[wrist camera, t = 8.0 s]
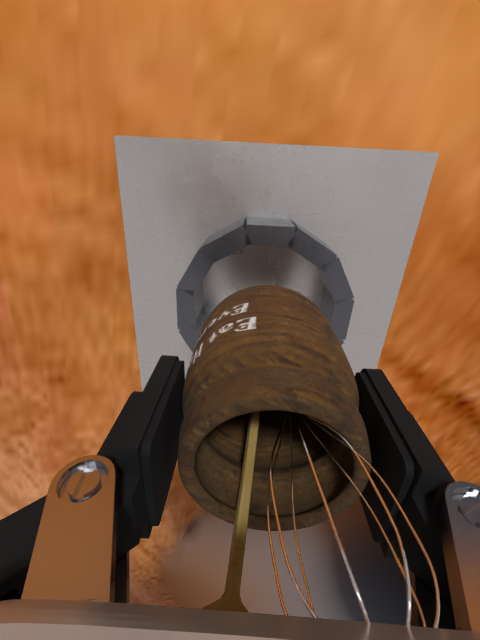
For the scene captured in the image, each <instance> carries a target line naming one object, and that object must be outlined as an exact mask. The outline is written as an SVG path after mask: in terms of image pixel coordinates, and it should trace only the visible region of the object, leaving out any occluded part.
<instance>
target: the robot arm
mask: <svg viewBox="0 0 480 640" xmlns="http://www.w3.org/2000/svg"><path fill="white" fill-rule="evenodd" d="M355 380H356V383H357V387H358V393H359V412H360V414H361V416H362V419H363V421H364V424H365V427H366V430H367V435H368V440H369V446H370V452H371V466H372V467H373V468H374V469H375V470H376V471H377V473H378V474H379V475H380V476H381V478H382V479H383V480H384V482H385V483H386V484H387V486H388V487H389V489H390V490H391V492H392V493H393V495H394V496H395V498H396V499H397V501H398V503H399V504H400V506H401V508H402V509H403V511H404V513H405V514H406V516H407V518H408V520H409V521H410V523H411V525H412V527H413V528H414V530H415V532H416V534H417V535H418V537H419V539H420V541H421V542H422V544H423V546H424V548H425V550H426V552H427V554H428V556H429V558H430V560H431V563H432V565H433V568H434V571H435V574H436V578H437V582H438V588H439V595H440V618H439V625H438V628H433V625H434V621H435V614H436V594H435V586H434V580H433V576H432V573H431V569H430V567H429V564H428V561H427V559H426V557H425V555H424V553H423V551H422V549H421V547H420V545H419V543H418V541H417V540H416V538H415V536H414V534H413V532H412V531H411V529H410V527H409V525H408V523H407V522H406V520H405V518H404V516H403V515H402V513H401V511H400V509H399V508H398V506H397V504H396V503H395V501H394V499H393V498H392V496H391V495H390V493H389V492H388V490H387V488H386V487H385V486H384V484H383V483H382V482H381V480H380V479H379V477H378V476H377V475H376V474H375V473H374V471H373V470H372V469H371V472H370V476H371V478H372V480H373V482H374V484H375V486H376V487H377V489H378V491H379V493H380V495H381V497H382V499H383V501H384V502H385V504H386V506H387V508H388V510H389V512H390V514H391V516H392V518H393V521H394V523H395V525H396V527H397V529H398V532H399V535H400V537H401V540H402V544H403V547H404V551H405V555H406V559H407V564H408V570H409V576H410V584H411V586H412V588H413V590H414V592H415V595H416V597H417V599H418V601H419V604H420V606H421V609H422V612H423V615H424V618H425V621H426V626H427V627H423V623H422V619H421V616H420V613H419V610H418V607H417V604H416V602H415V600H414V597H413V595H412V593H411V600H412V603H411V622H410V624H411V626H410V628H409V627H406V626H405V625H393V624H382V623H371V625H368V624H367V623H366V622H358V621H345V620H334V619H322V618H309V617H297V616H284V615H271V614H259V613H247V612H235V611H221V610H208V609H195V608H181V607H168V606H155V605H141V604H129V551H130V550H131V549H132V548H134V547H135V546H136V545H138V544H139V541H140V538H147V539H149V537H150V533H151V530H152V526H158V525H159V524H160V521H161V517H162V513H163V510H164V506H165V502H166V499H167V495H168V491H169V488H170V484H171V480H172V477H173V473H174V469H175V465H176V462H177V458H178V445H179V434H180V429H181V425H182V422H183V419H184V415H183V408H182V399H183V388H184V382H185V366H184V361H181V360H179V357H178V356H169V355H162V356H161V357H160V359H159V361H158V363H157V365H156V367H155V369H154V371H153V373H152V374H151V376H150V378H149V380H148V382H147V384H146V386H145V388H144V390H143V392H135V391H134V392H133V393H132V394H131V395H130V397H129V398H128V400H127V402H126V404H125V405H124V407H123V409H122V411H121V413H120V414H119V416H118V418H117V420H116V422H115V423H114V425H113V427H112V429H111V430H110V432H109V434H108V436H107V438H106V439H105V441H104V443H103V445H102V447H101V448H100V450H99V452H98V454H97V455H90V456H84V457H81V458H78V459H76V460H74V461H72V462H70V463H68V464H67V465H66V466H64V467H63V468H62V469H61V470H59V472H58V473H57V474H56V475H55V477H54V478H53V479H52V482H51V484H50V486H49V489H48V493H47V495H46V496H44V497H42V498H40V499H39V500H37V501H35V502H33V503H31V504H29V505H28V506H26V507H24V508H22V509H20V510H18V511H17V512H15V513H13V514H11V515H9V516H7V517H6V518H4V519H2V520H0V640H480V487H479V486H477V485H475V484H472V483H467V482H455V480H454V479H453V477H452V476H451V474H450V473H449V471H448V469H447V468H446V466H445V465H444V463H443V462H442V460H441V459H440V457H439V456H438V454H437V453H436V451H435V449H434V448H433V446H432V445H431V443H430V442H429V440H428V439H427V437H426V436H425V434H424V432H423V431H422V429H421V428H420V426H419V425H418V423H417V422H416V420H415V419H414V417H413V415H412V414H411V413H410V412H409V411H408V410H407V409H406V407H405V406H404V404H403V403H402V401H401V399H400V398H399V396H398V395H397V393H396V392H395V390H394V388H393V387H392V385H391V384H390V382H389V381H388V379H387V378H386V376H385V374H384V373H383V371H382V370H380V369H366V368H363V369H362V370H361V372H357V373H356V375H355ZM361 494H362V495H363V496H364V498H365V499H366V501H367V502H368V504H369V506H370V507H371V509H372V510H373V512H374V514H375V515H376V517H377V519H378V521H379V522H380V524H381V526H382V528H383V530H384V532H385V534H386V535H387V537H388V539H389V541H390V543H391V545H392V547H393V549H394V551H395V553H396V555H397V557H398V558H400V559H401V562H402V564H403V565H404V563H403V558H402V554H401V550H400V546H399V543H398V539H397V536H396V534H395V531H394V528H393V526H392V524H391V522H390V520H389V517H388V515H387V513H386V511H385V509H384V507H383V505H382V503H381V501H380V499H379V497H378V496H377V494H376V492H375V490H374V488H373V486H372V484H371V482H370V480H368V482H367V485H366V487H365V488H364V490H363V492H362V493H361ZM359 497H360V500H361V503H362V506H363V509H364V513H365V516H366V519H367V522H368V525H369V528H370V531H371V534H372V537H373V539H374V541H375V542H376V543H380V545H381V548H382V551H383V554H384V557H394V555H393V553H392V551H391V549H390V547H389V545H388V543H387V541H386V539H385V537H384V535H383V533H382V531H381V529H380V527H379V525H378V524H377V522H376V520H375V518H374V517H373V515H372V513H371V511H370V510H369V508H368V507H367V505H366V503H365V502H364V500H363V499H362V497H361V496H359ZM394 558H395V557H394Z"/></svg>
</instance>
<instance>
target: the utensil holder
mask: <svg viewBox="0 0 480 640" xmlns="http://www.w3.org/2000/svg"><path fill="white" fill-rule="evenodd" d="M182 408H183V415H184V419H183V422H182V425H181V429H180V434H179V445H178V468H179V473H180V477H181V480H182V482H183V484H184V486H185V488H186V490H187V491H188V493H189V494H190V496H191V497H192V498H193V499H194V500H195V501H196V502H197V503H198V504H199V505H200V506H201V507H202V508H204V509H205V510H206V511H208V512H209V513H211V514H213V515H214V516H216V517H218V518H220V519H222V520H224V521H227V522H229V523H232V524H234V530H233V538H232V544H231V551H230V558H229V566H228V572H227V579H226V586H225V592H224V594H223V595H222V597H221V599H219V600H217V601H216V602H213V603H212V604H209V605H208V606H206V607H204V608H202V609H208V610H221V611H235V612H247V613H249V612H248V611H247V610H246V608H245V607H244V605H243V604H242V603H241V598H240V585H241V576H242V567H243V558H244V550H245V540H246V532H247V528H251V529H256V530H266V531H268V534H269V542H270V548H271V554H272V561H273V566H274V572H275V578H276V584H277V589H278V593H279V598H280V602H281V606H282V609H283V612H284V615H285V616H288V614H287V611H286V608H285V606H284V602H283V598H282V594H281V589H280V585H279V579H278V574H277V568H276V562H275V557H274V551H273V545H272V538H271V531H278V532H279V536H280V541H281V545H282V550H283V554H284V558H285V562H286V565H287V568H288V571H289V573H290V576H291V578H292V581H293V583H294V585H295V587H296V589H297V591H298V593H299V595H300V597H301V599H302V600H303V602H304V604H305V606H306V608H307V609H308V611H309V612H310V613H311V615H312V617H313V618H318V617H317V616H316V614H315V613H314V608H313V604H312V600H311V596H310V592H309V588H308V584H307V580H306V576H305V572H304V568H303V563H302V558H301V554H300V548H299V543H298V538H297V530H296V529H301V528H305V527H310V526H313V525H316V524H319V523H322V522H325V521H327V520H330V522H331V525H332V528H333V531H334V534H335V536H336V539H337V542H338V545H339V548H340V551H341V553H342V556H343V559H344V562H345V565H346V568H347V570H348V573H349V576H350V579H351V581H352V584H353V587H354V590H355V593H356V596H357V598H358V601H359V604H360V606H361V609H362V612H363V615H364V618H365V620H366V623H367V624H368V625H371V621H370V619H369V616H368V613H367V611H366V608H365V605H364V602H363V599H362V597H361V594H360V591H359V589H358V586H357V583H356V580H355V577H354V575H353V572H352V569H351V567H350V564H349V561H348V558H347V555H346V553H345V550H344V547H343V544H342V542H341V539H340V536H339V534H338V531H337V528H336V525H335V522H334V520H333V517H335V516H337V515H338V514H340V513H341V512H343V511H344V510H346V509H347V508H348V507H349V506H351V505H352V504H353V503H354V502H355V501H356V500H357V498H358V497H359V496H361V497H362V499H363V500H364V502H365V503H366V505H367V507H368V508H369V510H370V511H371V513H372V515H373V517H374V518H375V520H376V522H377V524H378V525H379V527H380V529H381V531H382V533H383V535H384V537H385V539H386V541H387V543H388V545H389V547H390V549H391V551H392V553H393V555H394V557H395V559H396V561H397V563H398V565H399V567H400V569H401V571H402V573H403V575H404V578H405V580H406V585H407V617H406V627H409V628H410V622H411V603H412V600H411V593H412V595H413V597H414V600H415V602H416V604H417V607H418V610H419V613H420V616H421V619H422V623H423V627H427V626H426V621H425V618H424V615H423V612H422V609H421V606H420V604H419V601H418V599H417V597H416V595H415V592H414V590H413V588H412V586H411V584H410V576H409V570H408V564H407V559H406V555H405V551H404V547H403V544H402V540H401V537H400V535H399V532H398V529H397V527H396V525H395V523H394V521H393V518H392V516H391V514H390V512H389V510H388V508H387V506H386V504H385V502H384V501H383V499H382V497H381V495H380V493H379V491H378V489H377V487H376V486H375V484H374V482H373V480H372V478H371V476H370V472H371V469H372V470H373V471H374V473H375V474H376V475H377V476H378V477H379V479H380V480H381V482H382V483H383V484H384V486H385V487H386V488H387V490H388V492H389V493H390V495H391V496H392V498H393V499H394V501H395V503H396V504H397V506H398V508H399V509H400V511H401V513H402V515H403V516H404V518H405V520H406V522H407V523H408V525H409V527H410V529H411V531H412V532H413V534H414V536H415V538H416V540H417V541H418V543H419V545H420V547H421V549H422V551H423V553H424V555H425V557H426V559H427V561H428V564H429V567H430V569H431V573H432V576H433V580H434V586H435V594H436V614H435V621H434V625H433V628H438V625H439V618H440V595H439V588H438V582H437V578H436V574H435V571H434V568H433V565H432V563H431V560H430V558H429V556H428V554H427V552H426V550H425V548H424V546H423V544H422V542H421V541H420V539H419V537H418V535H417V534H416V532H415V530H414V528H413V527H412V525H411V523H410V521H409V520H408V518H407V516H406V514H405V513H404V511H403V509H402V508H401V506H400V504H399V503H398V501H397V499H396V498H395V496H394V495H393V493H392V492H391V490H390V489H389V487H388V486H387V484H386V483H385V482H384V480H383V479H382V478H381V476H380V475H379V474H378V473H377V471H376V470H375V469H374V468H373V467H372V466H371V452H370V446H369V440H368V435H367V430H366V427H365V424H364V421H363V419H362V416H361V414H360V412H359V393H358V387H357V383H356V380H355V376H354V373H353V371H352V368H351V366H350V363H349V361H348V359H347V357H346V354H345V352H344V350H343V348H342V346H341V344H340V342H339V340H338V338H337V336H336V334H335V332H334V330H333V329H332V327H331V325H330V323H329V321H328V320H327V318H326V317H325V315H324V314H323V312H322V311H321V310H320V309H319V308H318V307H317V306H316V305H315V304H314V303H313V302H312V301H311V300H310V299H308V298H307V297H306V296H304V295H302V294H301V293H299V292H297V291H294V290H292V289H289V288H286V287H282V286H276V285H258V286H252V287H248V288H245V289H242V290H239V291H237V292H235V293H233V294H231V295H230V296H228V297H227V298H225V299H224V300H223V301H221V302H220V303H219V304H218V305H217V306H216V307H215V308H214V310H213V311H212V312H211V314H210V315H209V316H208V318H207V320H206V321H205V323H204V326H203V328H202V330H201V332H200V335H199V338H198V340H197V343H196V346H195V349H194V352H193V355H192V358H191V361H190V364H189V367H188V370H187V374H186V378H185V382H184V388H183V399H182ZM368 480H370V482H371V484H372V486H373V488H374V490H375V492H376V494H377V496H378V497H379V499H380V501H381V503H382V505H383V507H384V509H385V511H386V513H387V515H388V517H389V520H390V522H391V524H392V526H393V528H394V531H395V534H396V536H397V539H398V543H399V546H400V550H401V554H402V558H403V563H404V569H405V571H404V569H403V567H402V566H401V563H400V561H399V559H398V557H397V555H396V553H395V551H394V549H393V547H392V545H391V543H390V541H389V539H388V537H387V535H386V534H385V532H384V530H383V528H382V526H381V524H380V522H379V521H378V519H377V517H376V515H375V514H374V512H373V510H372V509H371V507H370V506H369V504H368V502H367V501H366V499H365V498H364V496H363V495H362V494H361V493H362V492H363V490H364V488H365V487H366V485H367V482H368ZM286 530H294V532H295V539H296V544H297V550H298V555H299V560H300V565H301V569H302V574H303V578H304V582H305V587H306V591H307V595H308V599H309V603H310V605H309V604H308V602H307V600H306V598H305V597H304V595H303V593H302V592H301V589H300V587H299V586H298V584H297V581H296V579H295V577H294V575H293V572H292V570H291V567H290V564H289V561H288V557H287V554H286V550H285V546H284V541H283V537H282V532H281V531H286Z"/></svg>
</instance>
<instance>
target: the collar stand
mask: <svg viewBox="0 0 480 640" xmlns="http://www.w3.org/2000/svg"><path fill="white" fill-rule="evenodd" d="M114 142H115V151H116V160H117V169H118V178H119V187H120V196H121V205H122V214H123V223H124V232H125V241H126V250H127V259H128V268H129V277H130V286H131V295H132V304H133V313H134V322H135V332H136V341H137V350H138V359H139V368H140V377H141V386H142V392H143V390H144V388H145V386H146V384H147V382H148V380H149V378H150V376H151V374H152V373H153V371H154V369H155V367H156V365H157V363H158V361H159V359H160V357H161V356H162V355H169V356H178V357H179V360H181V361H184V366H185V378H186V374H187V370H188V367H189V364H190V361H191V358H192V355H193V352H194V349H195V346H196V343H197V340H198V338H199V335H200V332H201V330H202V328H203V326H204V323H205V321H206V320H207V318H208V316H209V315H210V314H211V312H212V311H213V310H214V308H215V307H216V306H217V305H218V304H219V303H220V302H221V301H223V300H224V299H225V298H227V297H228V296H230V295H231V294H233V293H235V292H237V291H239V290H242V289H245V288H248V287H252V286H258V285H276V286H282V287H286V288H289V289H292V290H294V291H297V292H299V293H301V294H302V295H304V296H306V297H307V298H308V299H310V300H311V301H312V302H313V303H314V304H315V305H316V306H317V307H318V308H319V309H320V310H321V311H322V312H323V314H324V315H325V317H326V318H327V320H328V321H329V323H330V325H331V327H332V329H333V330H334V332H335V334H336V336H337V338H338V340H339V342H340V344H341V346H342V348H343V350H344V352H345V354H346V357H347V359H348V361H349V363H350V366H351V368H352V371H353V373H354V376H355V375H356V373H357V372H361V370H362V369H363V368H366V369H376V368H377V365H378V362H379V358H380V355H381V351H382V348H383V344H384V341H385V337H386V334H387V330H388V327H389V324H390V320H391V317H392V313H393V310H394V306H395V303H396V299H397V296H398V293H399V289H400V286H401V282H402V279H403V275H404V272H405V268H406V265H407V261H408V258H409V255H410V251H411V248H412V244H413V241H414V237H415V234H416V230H417V227H418V224H419V220H420V217H421V213H422V210H423V206H424V203H425V199H426V196H427V192H428V189H429V186H430V182H431V179H432V175H433V172H434V168H435V165H436V161H437V158H438V154H439V152H421V151H402V150H383V149H364V148H345V147H326V146H307V145H288V144H269V143H250V142H231V141H212V140H193V139H174V138H155V137H136V136H117V135H114Z"/></svg>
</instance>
